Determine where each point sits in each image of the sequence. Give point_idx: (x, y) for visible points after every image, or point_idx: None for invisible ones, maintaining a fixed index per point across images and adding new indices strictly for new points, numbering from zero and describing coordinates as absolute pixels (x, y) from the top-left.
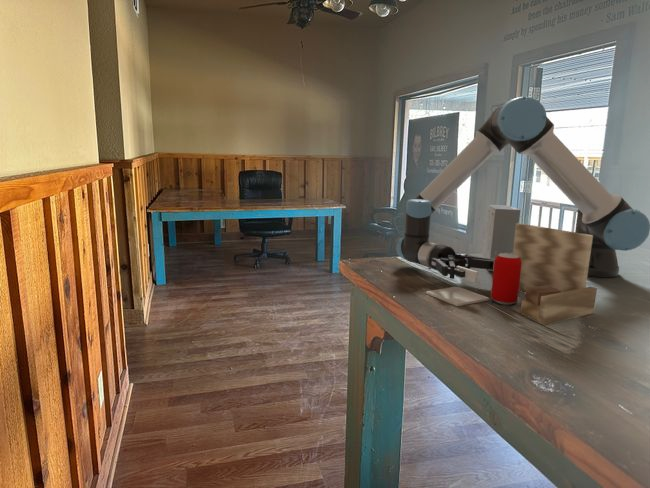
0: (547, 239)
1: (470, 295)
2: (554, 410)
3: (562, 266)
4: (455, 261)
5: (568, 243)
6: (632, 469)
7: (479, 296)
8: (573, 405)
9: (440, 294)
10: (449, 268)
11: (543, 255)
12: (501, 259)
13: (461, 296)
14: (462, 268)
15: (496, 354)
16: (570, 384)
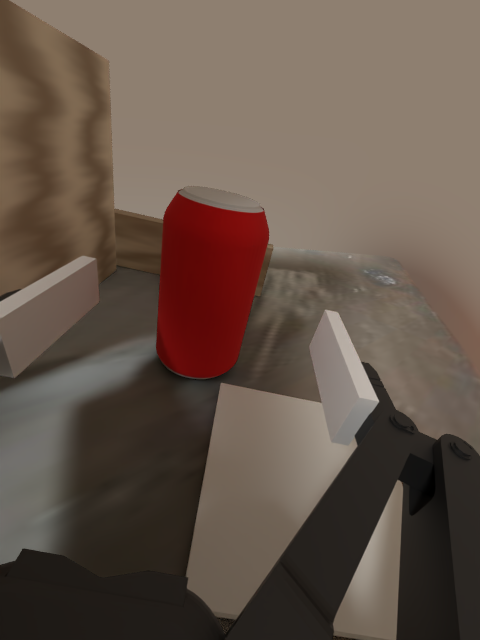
0: (17, 71)
1: (261, 434)
2: (402, 274)
3: (80, 184)
4: (199, 603)
5: (79, 91)
6: (393, 258)
7: (239, 408)
8: (383, 269)
9: (393, 531)
10: (422, 438)
11: (26, 163)
12: (266, 220)
13: (307, 449)
14: (359, 366)
15: (402, 306)
16: (363, 270)
